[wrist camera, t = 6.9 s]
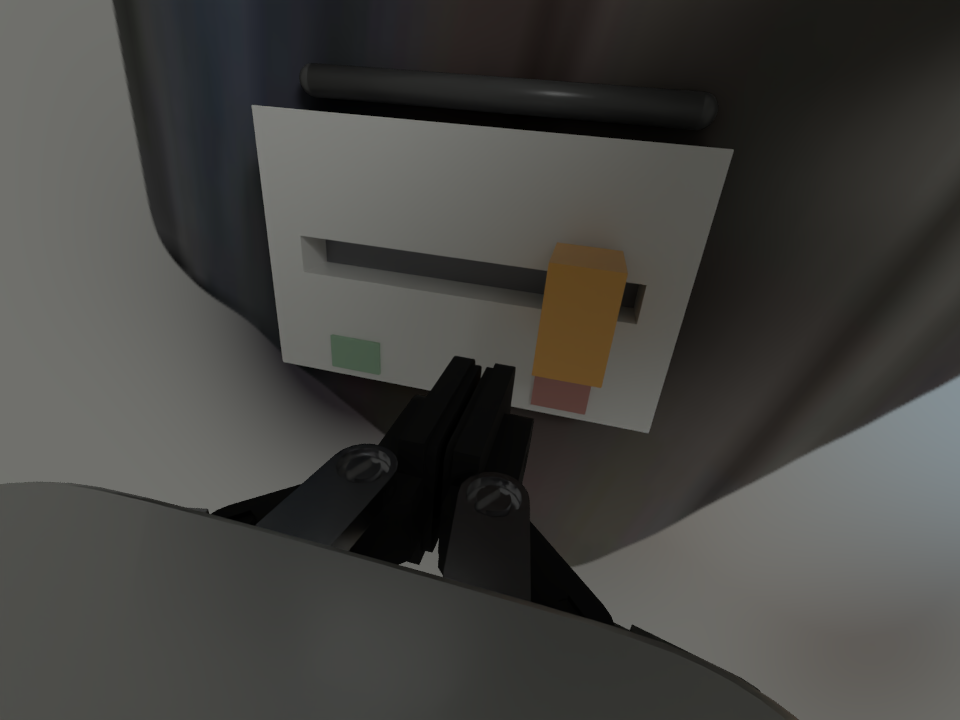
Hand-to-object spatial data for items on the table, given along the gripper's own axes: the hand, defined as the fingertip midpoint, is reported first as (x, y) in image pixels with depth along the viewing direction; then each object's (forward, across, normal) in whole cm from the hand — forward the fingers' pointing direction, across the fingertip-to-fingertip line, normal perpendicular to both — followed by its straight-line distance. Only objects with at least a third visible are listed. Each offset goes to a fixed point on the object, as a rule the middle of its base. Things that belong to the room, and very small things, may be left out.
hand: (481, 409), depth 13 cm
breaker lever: (+14, -2, 0) cm, 14 cm away
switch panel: (+17, +4, -1) cm, 17 cm away
